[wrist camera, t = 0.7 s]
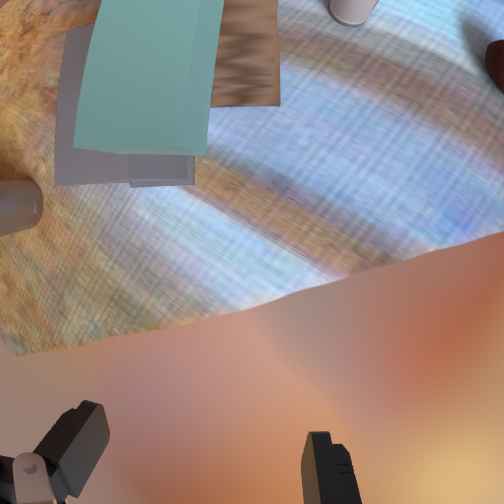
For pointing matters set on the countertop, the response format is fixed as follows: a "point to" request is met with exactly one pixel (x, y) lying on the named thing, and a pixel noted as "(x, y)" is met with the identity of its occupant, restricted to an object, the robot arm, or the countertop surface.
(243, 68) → the walnut stand
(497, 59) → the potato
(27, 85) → the countertop surface
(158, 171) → the charcoal pedestal
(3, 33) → the countertop surface
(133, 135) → the teal bar
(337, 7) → the travel mug
